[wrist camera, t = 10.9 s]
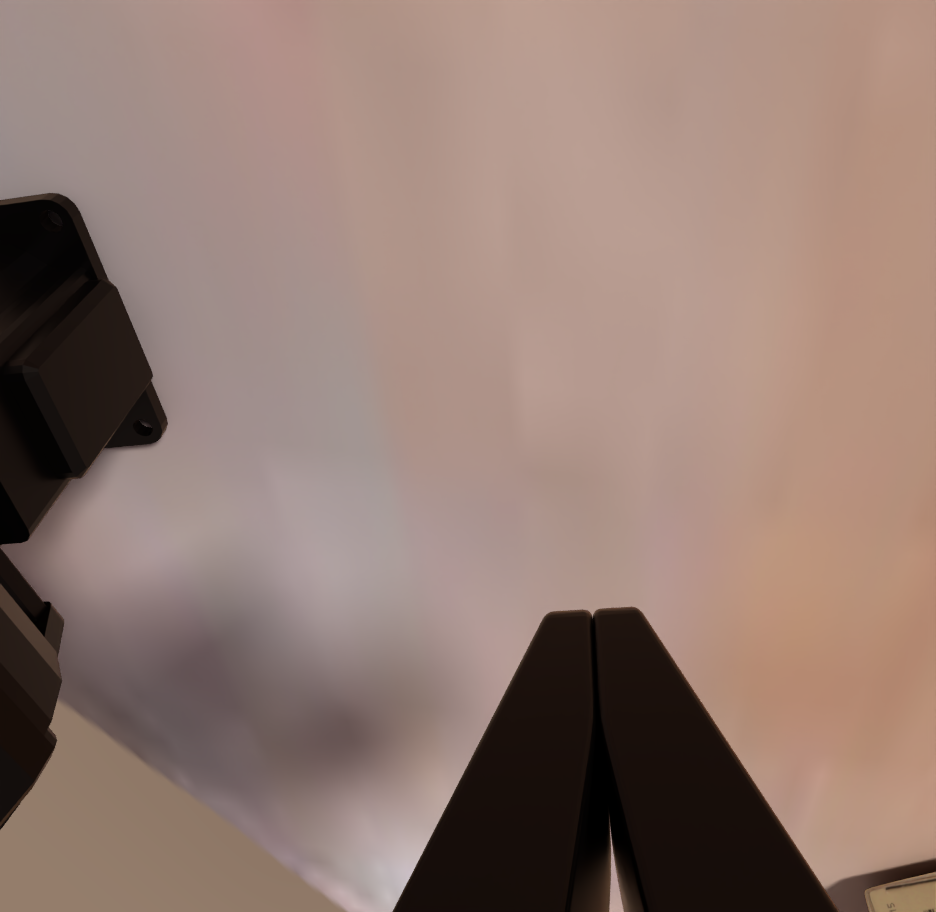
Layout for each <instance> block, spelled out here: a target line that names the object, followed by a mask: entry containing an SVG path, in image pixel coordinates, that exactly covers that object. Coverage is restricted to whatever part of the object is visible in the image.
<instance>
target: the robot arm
mask: <svg viewBox="0 0 936 912" xmlns="http://www.w3.org/2000/svg"><path fill="white" fill-rule="evenodd" d="M48 210H49V211H53V212H55V213H57V214H58V215H59V216H60V218H61V219H62V222H63V226H60V225H57V224H55V223H54V222H52V220H51V219H50V217H49V215H48ZM152 377H153V374H152V371H151V368H150V366H149V364H148V361H147V359H146V356H145V354H144V352H143V349H142V347H141V344H140V342H139V340H138V337H137V335H136V333H135V330H134V328H133V325H132V323H131V321H130V318H129V316H128V313H127V311H126V309H125V306H124V304H123V301H122V299H121V297H120V294H119V292H118V289H117V288H116V287H115V286H114V285H113V284H112V283H111V282H110V281H109V280H108V277H107V275H106V273H105V270H104V268H103V266H102V263H101V261H100V259H99V256H98V254H97V251H96V249H95V247H94V244H93V242H92V240H91V237H90V235H89V232H88V230H87V228H86V225H85V223H84V221H83V218H82V216H81V213H80V211H79V210H78V208H77V207H76V205H75V204H74V203H73V202H72V201H71V200H70V199H68V198H67V197H65V196H63V195H60V194H56V193H47V194H40V195H33V196H26V197H19V198H12V199H5V200H0V547H1V545H2V544H12V543H22V542H25V541H27V540H28V539H29V538H30V536H31V535H32V533H33V532H34V531H35V529H36V528H37V527H38V525H39V524H40V522H41V521H42V520H43V518H44V517H45V515H46V514H47V513H48V511H49V510H50V508H51V507H52V506H53V504H54V503H55V501H56V500H57V499H58V497H59V496H60V495H61V493H62V492H63V490H64V489H65V488H66V486H67V485H68V483H69V482H70V481H71V479H78V478H82V477H83V476H84V475H85V474H86V473H87V471H88V470H89V468H90V467H91V466H92V464H93V463H94V461H95V460H96V458H97V457H98V456H99V454H100V453H101V451H102V450H103V449H104V448H112V447H122V446H133V445H143V444H151V443H155V442H157V441H158V440H159V439H160V438H161V437H162V435H163V433H164V432H165V430H166V428H167V425H168V422H167V417H166V415H165V413H164V410H163V408H162V406H161V403H160V401H159V398H158V396H157V394H156V391H155V389H154V387H153V384H152V382H151V379H152ZM139 420H145V421H147V422H149V423H150V425H151V426H152V428H151V427H146V426H144V425H143V424H142V423H141V422H140V421H139ZM63 627H64V619H63V618H62V617H61V615H60V614H59V613H58V612H57V610H56V609H55V608H54V607H53V605H52V604H51V603H50V602H43V601H42V600H41V598H40V597H39V596H38V595H37V593H36V592H35V591H34V590H33V588H32V587H31V586H30V585H29V583H28V582H27V581H26V580H25V578H24V577H23V576H22V575H21V573H20V572H19V571H18V570H17V568H16V567H15V566H14V565H13V563H12V562H11V561H10V560H9V558H8V557H7V556H6V554H5V553H4V552H3V551H2V549H1V548H0V829H1V828H2V827H3V826H4V824H5V823H6V822H7V821H8V819H9V818H10V816H11V815H12V813H13V812H14V811H15V810H16V808H17V807H18V805H19V804H20V802H21V801H22V800H23V799H24V797H25V796H26V795H27V794H28V792H29V791H30V790H31V789H32V787H33V786H34V784H35V783H36V781H37V779H38V778H39V776H40V774H41V773H42V771H43V769H44V768H45V766H46V764H47V763H48V761H49V759H50V758H51V755H52V753H53V751H54V748H55V745H56V742H57V739H56V736H55V734H54V733H53V732H52V731H51V730H50V728H49V725H50V723H51V721H52V717H53V713H54V710H55V706H56V702H57V698H58V694H59V690H60V687H61V683H62V678H61V673H60V668H59V663H58V653H59V648H60V643H61V637H62V632H63ZM609 818H610V819H609ZM610 827H611V836H612V845H613V854H614V860H615V866H616V872H617V878H618V884H619V889H620V894H621V899H622V904H623V909H624V912H839V910H838V909H837V907H836V906H835V904H834V903H833V901H832V900H831V898H830V897H829V895H828V894H827V892H826V891H825V889H824V888H823V886H822V885H821V883H820V881H819V880H818V878H817V877H816V875H815V874H814V872H813V871H812V869H811V868H810V866H809V865H808V863H807V862H806V860H805V859H804V857H803V856H802V854H801V853H800V851H799V850H798V848H797V847H796V845H795V844H794V842H793V840H792V839H791V837H790V836H789V834H788V833H787V831H786V830H785V828H784V827H783V825H782V824H781V822H780V821H779V819H778V818H777V816H776V815H775V813H774V812H773V810H772V809H771V807H770V806H769V804H768V803H767V801H766V800H765V798H764V796H763V795H762V793H761V792H760V790H759V789H758V787H757V786H756V784H755V783H754V781H753V780H752V778H751V777H750V775H749V774H748V772H747V771H746V769H745V768H744V766H743V765H742V763H741V762H740V760H739V759H738V757H737V755H736V754H735V752H734V751H733V749H732V748H731V746H730V745H729V743H728V742H727V740H726V739H725V737H724V736H723V734H722V733H721V731H720V730H719V728H718V727H717V725H716V724H715V722H714V721H713V719H712V718H711V716H710V714H709V713H708V711H707V710H706V708H705V707H704V705H703V704H702V702H701V701H700V699H699V698H698V696H697V695H696V693H695V692H694V690H693V689H692V687H691V686H690V684H689V683H688V681H687V680H686V678H685V677H684V675H683V674H682V672H681V670H680V669H679V667H678V666H677V664H676V663H675V661H674V660H673V658H672V657H671V655H670V654H669V652H668V651H667V649H666V648H665V646H664V645H663V643H662V642H661V640H660V639H659V637H658V636H657V634H656V633H655V631H654V629H653V628H652V626H651V625H650V623H649V622H648V620H647V619H646V617H645V616H644V614H643V613H642V612H641V611H640V610H639V609H637V608H635V607H621V608H604V609H598V610H596V611H595V613H594V614H593V618H592V615H591V613H590V612H589V611H587V610H570V611H553V612H550V613H548V614H547V615H546V616H545V617H544V618H543V620H542V622H541V623H540V625H539V627H538V629H537V631H536V633H535V635H534V637H533V639H532V641H531V643H530V645H529V647H528V649H527V651H526V653H525V655H524V657H523V659H522V660H521V662H520V664H519V666H518V668H517V670H516V672H515V674H514V676H513V678H512V680H511V682H510V684H509V686H508V688H507V690H506V692H505V694H504V696H503V697H502V699H501V701H500V703H499V705H498V707H497V709H496V711H495V713H494V715H493V717H492V719H491V721H490V723H489V725H488V727H487V729H486V731H485V733H484V734H483V736H482V738H481V740H480V742H479V744H478V746H477V748H476V750H475V752H474V754H473V756H472V758H471V760H470V762H469V764H468V766H467V768H466V770H465V771H464V773H463V775H462V777H461V779H460V781H459V783H458V785H457V787H456V789H455V791H454V793H453V795H452V797H451V799H450V801H449V803H448V805H447V807H446V808H445V810H444V812H443V814H442V816H441V818H440V820H439V822H438V824H437V826H436V828H435V830H434V832H433V834H432V836H431V838H430V840H429V842H428V844H427V845H426V847H425V849H424V851H423V853H422V855H421V857H420V859H419V861H418V863H417V865H416V867H415V869H414V871H413V873H412V875H411V877H410V879H409V881H408V882H407V884H406V886H405V888H404V890H403V892H402V894H401V896H400V898H399V900H398V902H397V904H396V906H395V908H394V910H393V912H609V904H610V883H611V838H610Z"/></svg>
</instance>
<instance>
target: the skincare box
mask: <svg viewBox="0 0 936 912" xmlns="http://www.w3.org/2000/svg"><path fill="white" fill-rule="evenodd" d="M865 899H866V903H867V906H868V910H869V912H936V872H933V873H929V874H924V875H920V876H916V877H911V878H907V879H903V880H899V881H895V882H891V883H887V884H883V885H879V886H875V887H872V888H869V889H867V890H866V891H865Z"/></svg>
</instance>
